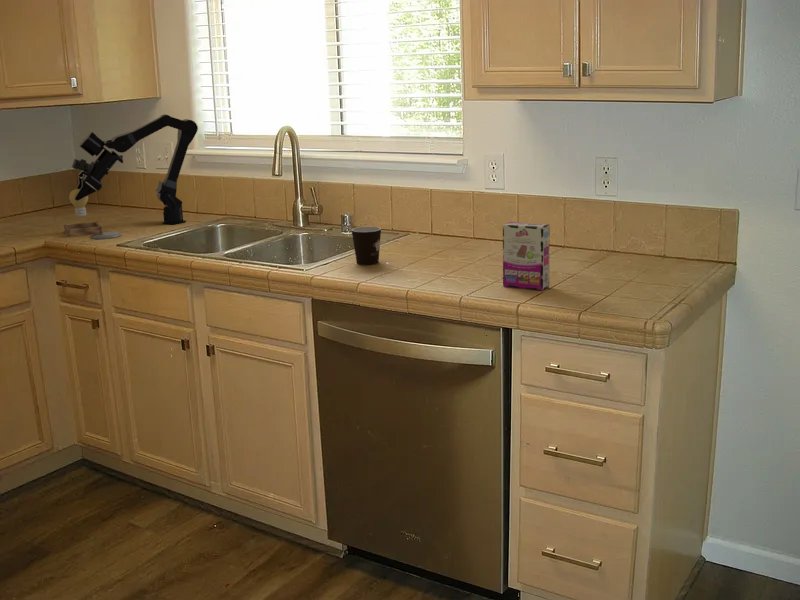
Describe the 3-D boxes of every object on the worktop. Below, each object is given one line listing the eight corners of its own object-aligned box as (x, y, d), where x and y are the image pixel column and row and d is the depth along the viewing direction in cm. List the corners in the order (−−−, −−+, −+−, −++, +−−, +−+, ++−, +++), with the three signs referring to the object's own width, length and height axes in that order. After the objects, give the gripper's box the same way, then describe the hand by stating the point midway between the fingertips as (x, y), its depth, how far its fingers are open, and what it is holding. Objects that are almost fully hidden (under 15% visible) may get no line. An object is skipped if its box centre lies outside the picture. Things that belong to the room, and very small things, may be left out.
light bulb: (86, 214, 330) (83, 186, 327) (93, 216, 325) (89, 188, 322) (69, 216, 326) (65, 189, 323) (75, 218, 321) (72, 190, 318)
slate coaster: (109, 232, 325) (109, 230, 325) (127, 235, 320) (127, 233, 320) (85, 237, 318) (85, 235, 317) (103, 240, 312) (103, 238, 312)
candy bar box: (550, 286, 233) (550, 223, 229) (542, 291, 229) (543, 227, 224) (510, 282, 238) (509, 220, 234) (502, 286, 234) (501, 224, 230)
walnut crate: (97, 228, 334) (96, 221, 334) (102, 233, 324) (101, 226, 324) (64, 231, 330) (63, 225, 329) (68, 237, 320) (67, 230, 319)
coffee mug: (364, 267, 260) (363, 233, 257) (347, 262, 266) (345, 229, 264) (396, 260, 267) (395, 227, 264) (378, 256, 274) (376, 223, 271)
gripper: (80, 148, 329) (53, 181, 327) (87, 152, 313) (58, 187, 311) (106, 167, 334) (78, 200, 333) (113, 173, 318) (85, 207, 316)
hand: (74, 198), depth 323 cm, fingers closed on light bulb, 6 cm apart
